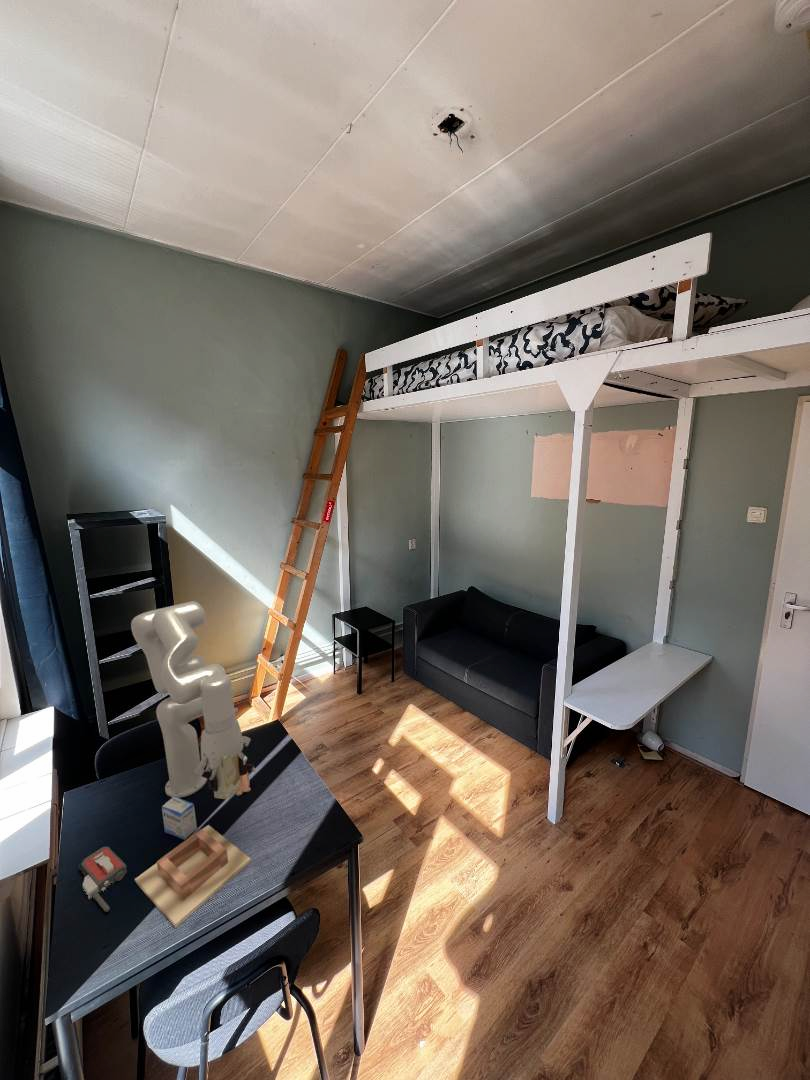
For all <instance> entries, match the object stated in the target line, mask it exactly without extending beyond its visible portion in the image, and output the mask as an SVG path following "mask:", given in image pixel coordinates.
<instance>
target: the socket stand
mask: <svg viewBox="0 0 810 1080" xmlns="http://www.w3.org/2000/svg"><path fill="white" fill-rule="evenodd" d="M251 862H252V859H251V857H249V856H248V855H247V854H246V853H244V852H243V851H241V849H239V848H238V847H237V846H236V845H234V844H233V843H232V842H230V841H229V840H228V839H227V838H226V837H224V836H223V835H222V834H220V833H219V832H218V831H217V830H215V828H213V827H212V826H211V825H209V824H208V825H206V826H204V827H203V828H200V829H199V830H197V831H196V832H194V834H191V835H190V836H188V837H187V838H186V839H185V840H184V841H182V842H181V843H180V844H178V846H176V847H174V848H173V849H172V850H170V851H168V852H167V853H166V854H165V855H163V856H162V857H161V858H160V859H158V860H157V861H156V863H155V864H153V865H152V866H150V867H149V868H148V869H146V870H145V871H144V872H142V873H141V874H140V875H139V876H137V877H135V878H134V882H136V883H135V884H136V885H137V886H138V887H139V888H140V889H141V890H142V892H143V893H144V894H145V896H146V897H148V898H149V899H150V901H151V902H152V903H153V904H154V906H156V908H157V909H159V911H160V912H161V913H162V914H163V916H164V917H166V918H167V920H168V921H169V922H170V923H171V924H172V926H174V928H175V929H177V928H178V927H179V926H180V925H181V924H182V923H183V922H185V921H186V920H187V919H188V918H189V917H190V916H191V915H193V914H194V912H196V911H197V910H198V909H199V908H200V907H202V906H203V905H204V904H205V903H206V902H208V900H209V899H211V898H212V897H213V896H214V895H215V894H216V893H217V892H219V891H220V890H221V889H222V888H223V887H225V885H226V884H228V883H229V882H230V881H231V880H233V878H235V876H237V875H238V874H239V873H240V872H241V871H242V870H244V869H245V868H246V867H247V866H248V865H249V864H251Z"/></svg>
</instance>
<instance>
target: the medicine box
mask: <svg viewBox="0 0 810 1080" xmlns="http://www.w3.org/2000/svg"><path fill="white" fill-rule="evenodd" d="M161 811H162V818H163V819H162V820H163V826H164V827H163V828H164V833H166V834H167V835H171V836H173V837H177V838H179V839H180V840H181V839H182V840H184V841H185V840H187V839H188V838H189V837H190V836H192V835H193V834H192V833H195V831H196V830H197V829H198V826H197V819H196V811H195V803H193V802H190V801H187V800H184V799H182V798H177V797H171V798H170V799H169V800H168V801H166V802H165V804H163V805H162V806H161Z"/></svg>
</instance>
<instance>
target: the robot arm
mask: <svg viewBox="0 0 810 1080" xmlns="http://www.w3.org/2000/svg"><path fill="white" fill-rule="evenodd" d="M206 617H207V616H206V611H205V609H204V608H203V606H202V604H200V603H198V602H197V601H192V600H191V601H188V602H183V603H180V604H179V603H178V604H175V605H171V606H165V607H162V608H156V609H153V610H149V611H146V612H143V613H140V614H138V615H136V616H135V617H133V619H132V620H131V622H130V623H131V624H130V626H131V627H130V628H131V632H132V636H133V637H134V640H135V642H136V643H137V645H138V646H139V647H140V648H141V650H142V651H143V654H145V658H146V661H147V664H148V669H149V672H150V676H151V679H152V683H153V685H154V688H155V690H156V692H157V693H159V694H168V695H169V697H167V698H165V699H164V700H162V701H161V702H159V704H158V705H157V707H156V711H155V712H156V718H157V721H158V724H159V726H160V730H161V732H162V738H163V745H164V752H165V759H166V764H167V772H168V778H169V780H168V781H167V782H166V783H165V787H164V790H165V794H166V795H167V797H170V798H173V797H177V798H179V799H181V798H183V797H188V796H190V795H192V794H195V793H196V792H198V791H199V790H200V789H202V788H204V786H205V784H206V783H207V788H208V789H209V790H212V791H213V792H214V791H215V792H216V791H218V783H217V777H215V774H216V771H217V768H218V767H219V766H221V760H222V758H223V757H224V756H226V755H228V754H230V756H231V758H233V757H234V756H236V755H237V756H238V762H239V772H240V773H241V774H242V773H243V772H244V770H243V767H244V764H243V759H244V757H245V756H246V755H245V754H246V752H247V750H248V748H249V745H250V742H251V738H250V737H248V736H245V735H243V733H242V729H241V726H240V723H239V720H238V718H236V714H237V713H238V712H239V709H238V707H235V705H234V704H235V703H234V695H233V685H232V679H231V677H230V676H229V675H228V674H226V670H225V668H224V667H223V666H222V665H221V664H219V663H211V664H207V663H206V662H205V659H204V658H203V657H202V656H201V655H200V654H198V653H196V654H195V653H194V652H195V651H196V649H197V648H198V646H199V643H200V640H199V637H198V636H197V635H196V633H195V631H194V629H195V628H199V627H201V626H203V625H204V624H205V622H206V619H207V618H206ZM193 653H194V654H193ZM202 716H203V722H204V729H202V731H201V736H200V749H199V741H198V734H197V733H198V732H197V731H196V729H195V727H194V726H192V725H191V724H190V723H189V722H193V720H196V719H198V718H200V717H202Z"/></svg>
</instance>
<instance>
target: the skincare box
mask: <svg viewBox="0 0 810 1080" xmlns="http://www.w3.org/2000/svg"><path fill="white" fill-rule="evenodd" d="M215 777H217V783H218V791H216V792H215V791H213V793H214V794H213V797H214V798H215V799H223V800H230V798H231V797H232V796H233V794H234V793H235V792H237V788H238V787H239V785H240V784H241V782H240V772H239V762H238V756H237V755H236V756H234V757H233V758H231V756H230V754H228V755H226V756H224V757H223V758H222V760H221V766H219V767H218V768H217V771H216V774H215Z"/></svg>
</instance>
